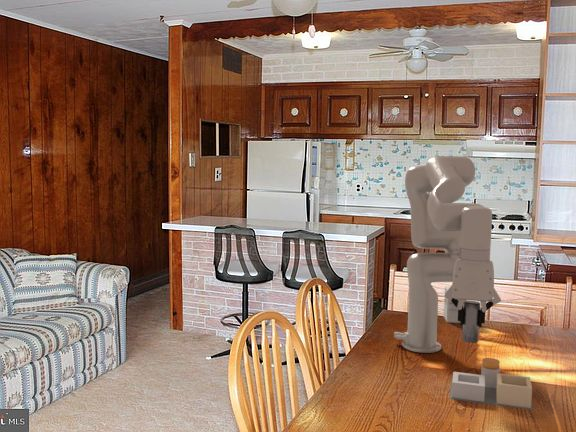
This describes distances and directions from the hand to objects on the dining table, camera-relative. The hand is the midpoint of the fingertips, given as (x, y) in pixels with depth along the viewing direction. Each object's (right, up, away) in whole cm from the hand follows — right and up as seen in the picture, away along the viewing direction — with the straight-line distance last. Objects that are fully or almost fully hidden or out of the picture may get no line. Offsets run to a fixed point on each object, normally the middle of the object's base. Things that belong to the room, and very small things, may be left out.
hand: (470, 324), depth 153 cm
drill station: (+6, -20, +3) cm, 21 cm away
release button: (+8, -17, +8) cm, 20 cm away
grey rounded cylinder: (0, -4, 0) cm, 4 cm away
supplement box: (+17, -13, +77) cm, 80 cm away
